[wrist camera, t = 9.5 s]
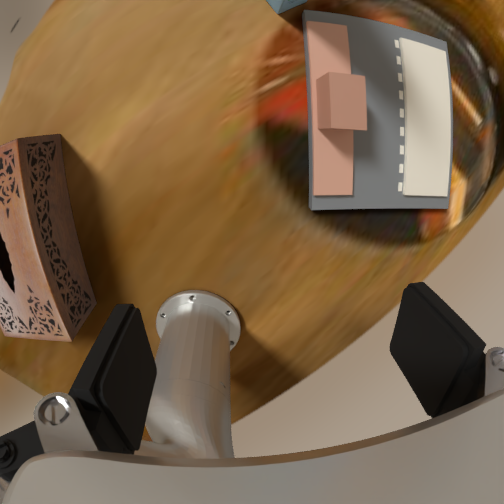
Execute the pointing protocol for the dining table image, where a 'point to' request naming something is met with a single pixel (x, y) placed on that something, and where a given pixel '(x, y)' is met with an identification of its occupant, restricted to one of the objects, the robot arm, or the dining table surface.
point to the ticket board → (394, 117)
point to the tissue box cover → (39, 245)
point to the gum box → (284, 4)
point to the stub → (333, 107)
